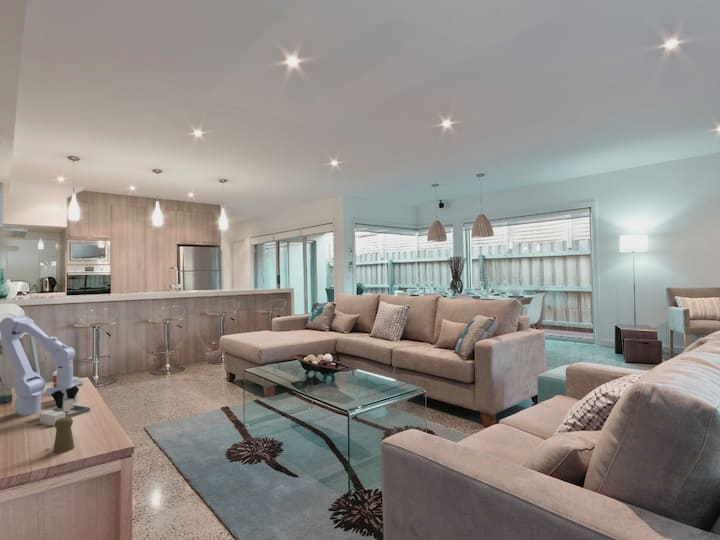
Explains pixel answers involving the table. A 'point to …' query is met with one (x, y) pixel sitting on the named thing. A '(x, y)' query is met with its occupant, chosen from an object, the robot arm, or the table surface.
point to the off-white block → (55, 417)
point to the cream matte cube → (67, 404)
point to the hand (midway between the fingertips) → (64, 406)
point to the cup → (76, 399)
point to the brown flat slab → (38, 422)
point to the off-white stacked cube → (45, 416)
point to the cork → (63, 435)
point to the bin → (81, 408)
